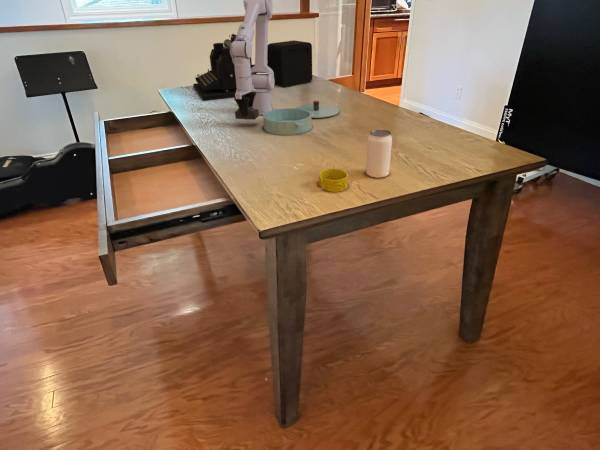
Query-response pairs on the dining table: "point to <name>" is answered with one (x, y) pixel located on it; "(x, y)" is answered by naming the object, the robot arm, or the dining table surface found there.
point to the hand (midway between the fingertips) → (246, 113)
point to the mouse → (251, 114)
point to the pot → (287, 121)
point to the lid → (320, 109)
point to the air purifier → (290, 62)
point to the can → (378, 153)
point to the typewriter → (218, 74)
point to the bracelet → (333, 180)
